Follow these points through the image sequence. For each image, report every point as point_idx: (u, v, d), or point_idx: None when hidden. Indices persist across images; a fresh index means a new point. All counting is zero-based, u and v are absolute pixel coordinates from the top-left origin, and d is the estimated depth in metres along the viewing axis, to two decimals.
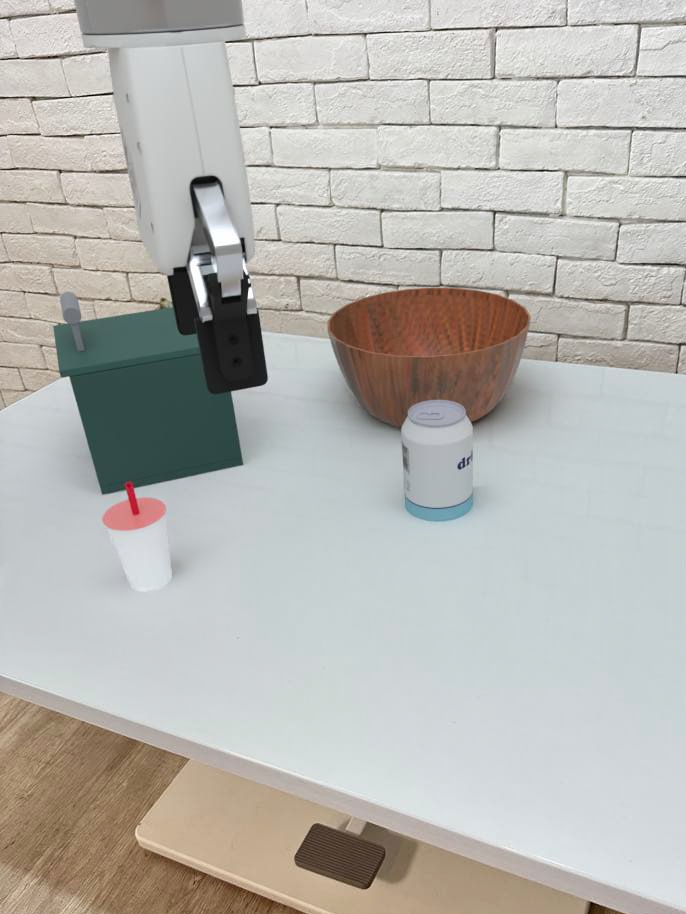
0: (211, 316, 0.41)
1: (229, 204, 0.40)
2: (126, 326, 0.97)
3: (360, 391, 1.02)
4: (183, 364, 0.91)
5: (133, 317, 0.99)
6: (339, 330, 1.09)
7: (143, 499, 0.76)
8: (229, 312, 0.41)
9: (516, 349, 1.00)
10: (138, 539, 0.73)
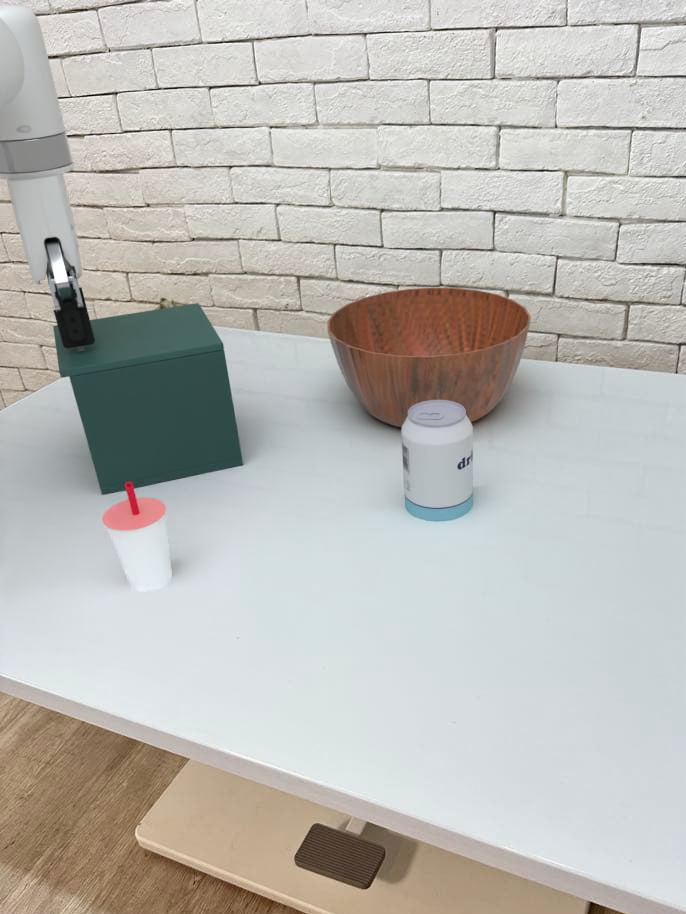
0: (60, 309, 0.86)
1: (64, 250, 0.83)
2: (126, 326, 0.97)
3: (360, 391, 1.02)
4: (183, 364, 0.91)
5: (133, 317, 0.99)
6: (339, 330, 1.09)
7: (143, 499, 0.76)
8: (68, 307, 0.86)
9: (516, 349, 1.00)
10: (138, 539, 0.73)
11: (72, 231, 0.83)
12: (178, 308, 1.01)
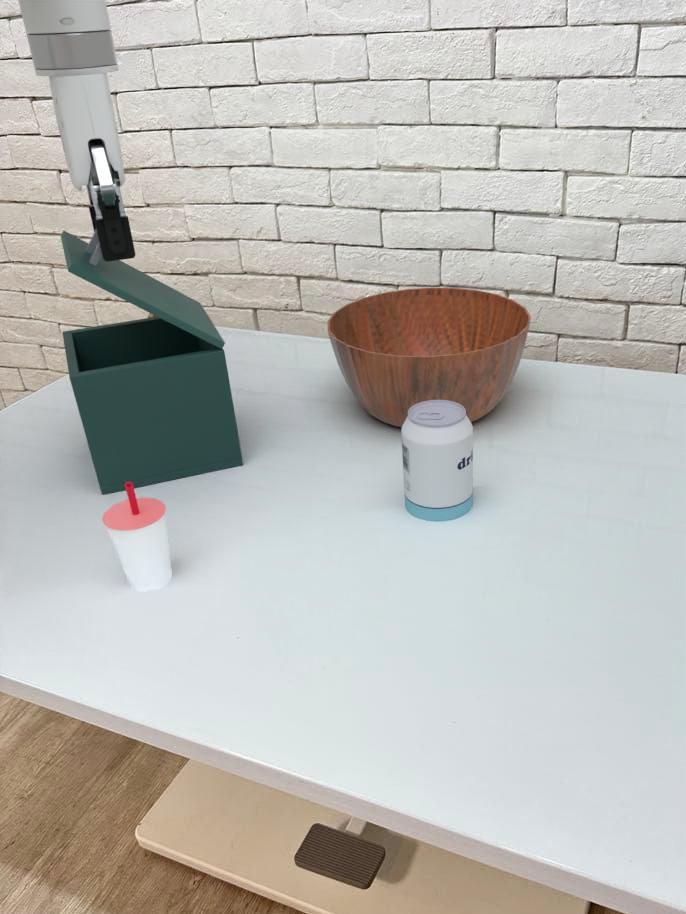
0: (101, 217, 0.83)
1: (109, 153, 0.81)
2: (134, 276, 0.94)
3: (360, 391, 1.02)
4: (183, 364, 0.91)
5: (141, 274, 0.97)
6: (339, 330, 1.09)
7: (143, 499, 0.76)
8: (110, 215, 0.83)
9: (516, 349, 1.00)
10: (138, 539, 0.73)
11: (117, 134, 0.81)
12: (183, 295, 1.01)
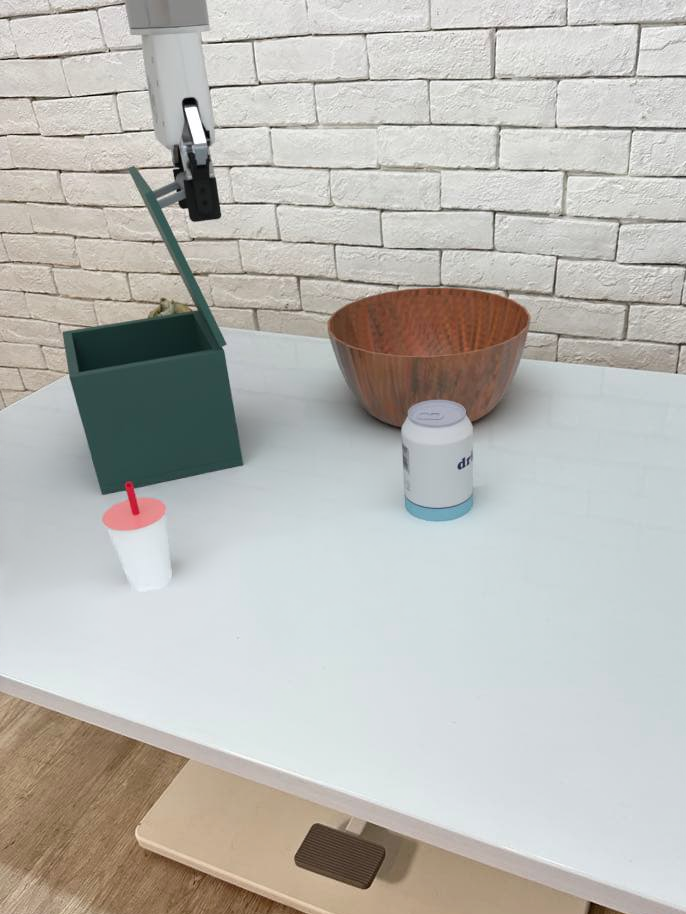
0: (191, 177, 0.84)
1: (201, 112, 0.82)
2: None
3: (360, 391, 1.02)
4: (183, 364, 0.91)
5: None
6: (339, 330, 1.09)
7: (143, 499, 0.76)
8: (200, 175, 0.84)
9: (516, 349, 1.00)
10: (138, 539, 0.73)
11: (209, 93, 0.82)
12: None
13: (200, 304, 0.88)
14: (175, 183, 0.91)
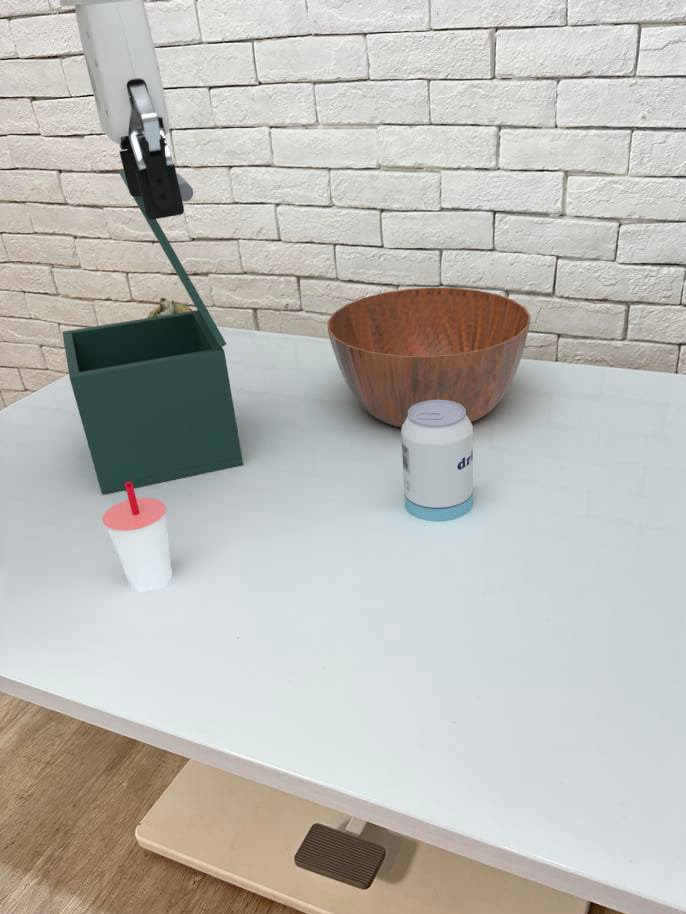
0: (145, 166, 0.70)
1: (151, 96, 0.68)
2: None
3: (360, 391, 1.02)
4: (183, 364, 0.91)
5: None
6: (339, 330, 1.09)
7: (143, 499, 0.76)
8: (155, 163, 0.70)
9: (516, 349, 1.00)
10: (138, 539, 0.73)
11: (159, 73, 0.68)
12: None
13: (197, 306, 0.88)
14: None
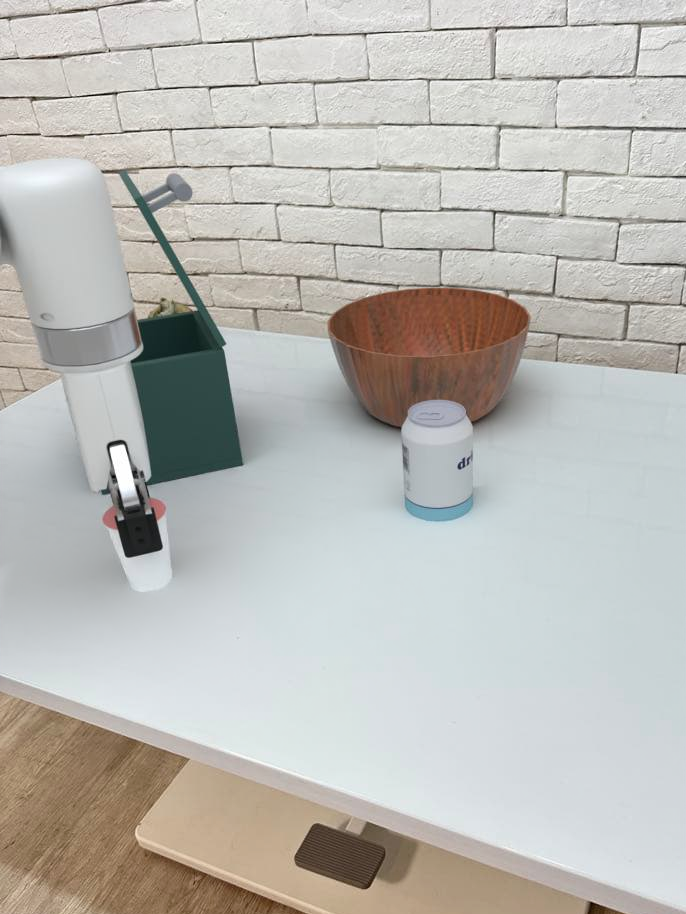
0: (123, 518, 0.69)
1: (132, 453, 0.66)
2: None
3: (360, 391, 1.02)
4: (183, 364, 0.91)
5: None
6: (339, 330, 1.09)
7: None
8: (134, 515, 0.69)
9: (516, 349, 1.00)
10: None
11: (141, 429, 0.66)
12: None
13: (197, 306, 0.88)
14: (166, 185, 0.90)
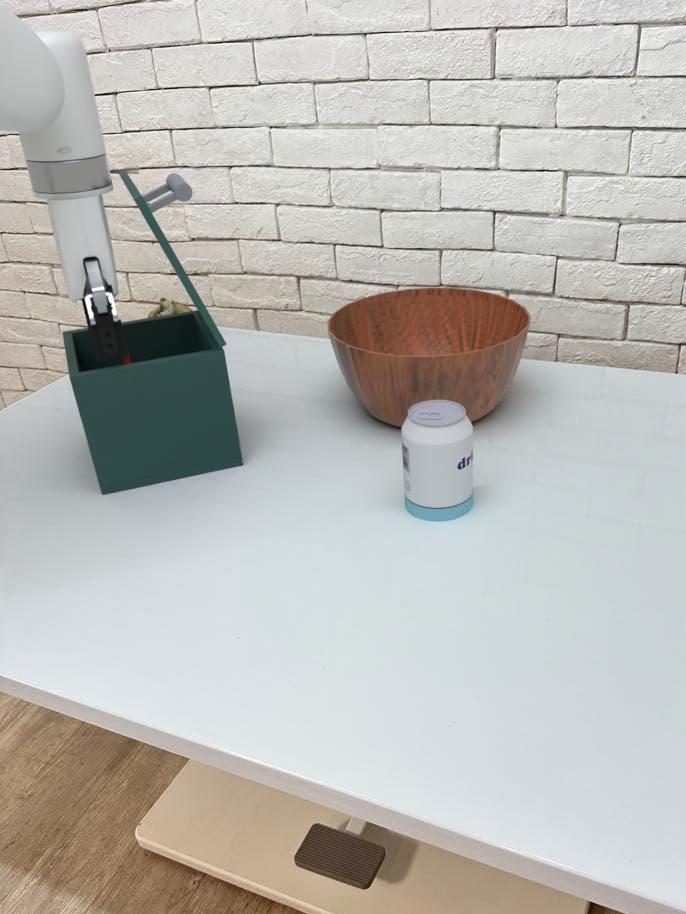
0: (95, 323, 0.85)
1: (103, 269, 0.84)
2: None
3: (360, 390, 1.02)
4: (183, 364, 0.91)
5: None
6: (339, 330, 1.09)
7: None
8: (104, 321, 0.85)
9: (516, 349, 1.00)
10: None
11: (110, 251, 0.84)
12: None
13: (197, 306, 0.88)
14: (166, 185, 0.90)
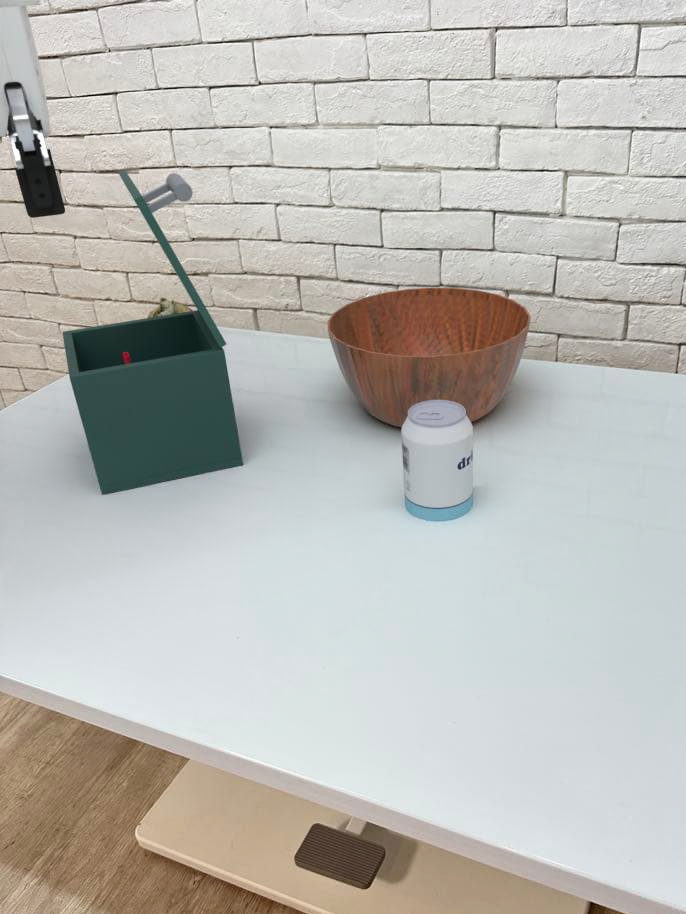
0: (22, 165, 0.72)
1: (29, 99, 0.71)
2: None
3: (360, 391, 1.02)
4: (183, 364, 0.91)
5: None
6: (339, 330, 1.09)
7: None
8: (32, 163, 0.72)
9: (516, 349, 1.00)
10: None
11: (38, 77, 0.71)
12: None
13: (197, 306, 0.88)
14: (166, 185, 0.90)
